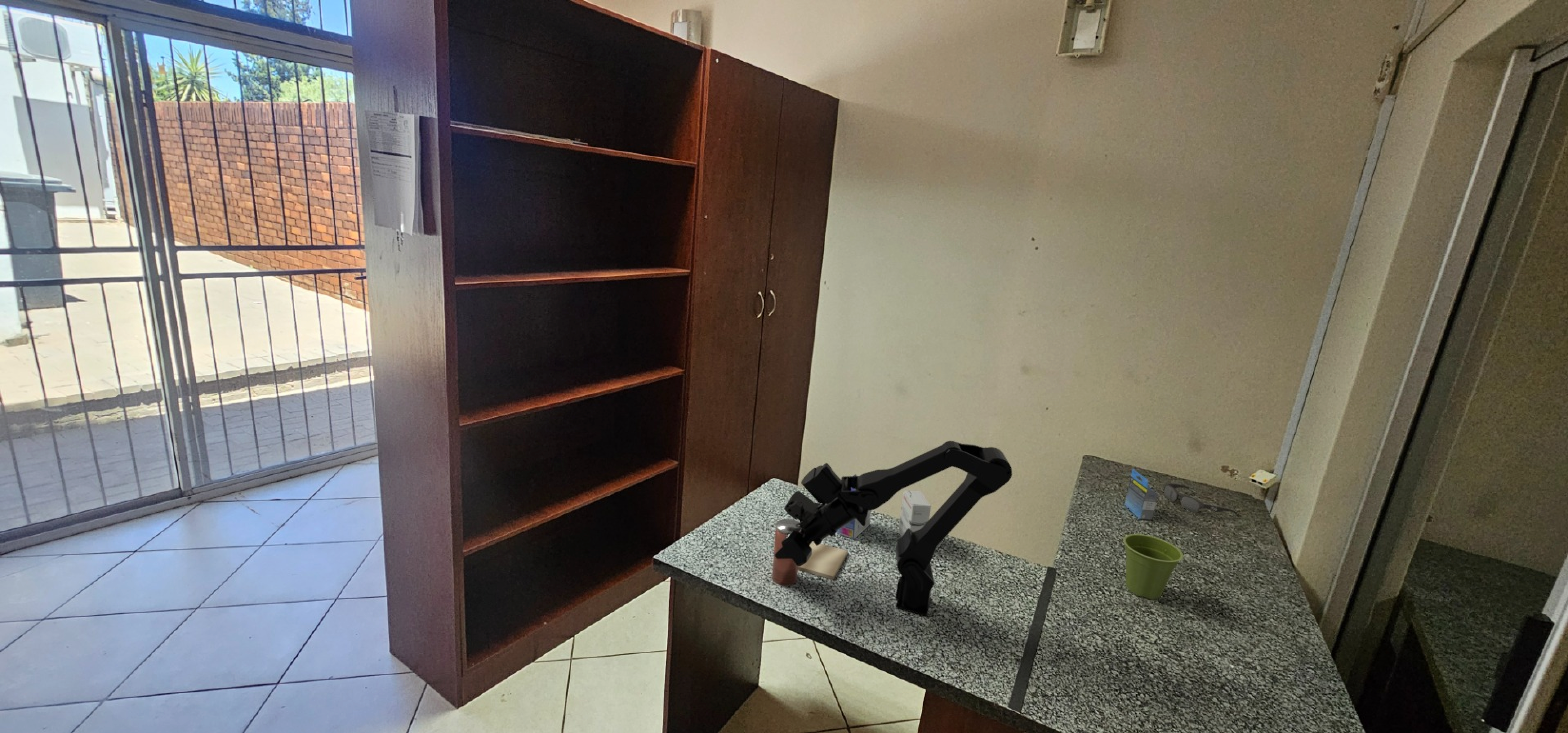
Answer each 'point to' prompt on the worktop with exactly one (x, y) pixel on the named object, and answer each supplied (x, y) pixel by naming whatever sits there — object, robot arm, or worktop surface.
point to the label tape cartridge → (1140, 497)
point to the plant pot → (1149, 564)
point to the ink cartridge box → (854, 526)
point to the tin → (784, 568)
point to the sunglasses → (1188, 499)
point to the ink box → (913, 511)
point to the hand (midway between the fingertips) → (780, 550)
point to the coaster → (824, 560)
